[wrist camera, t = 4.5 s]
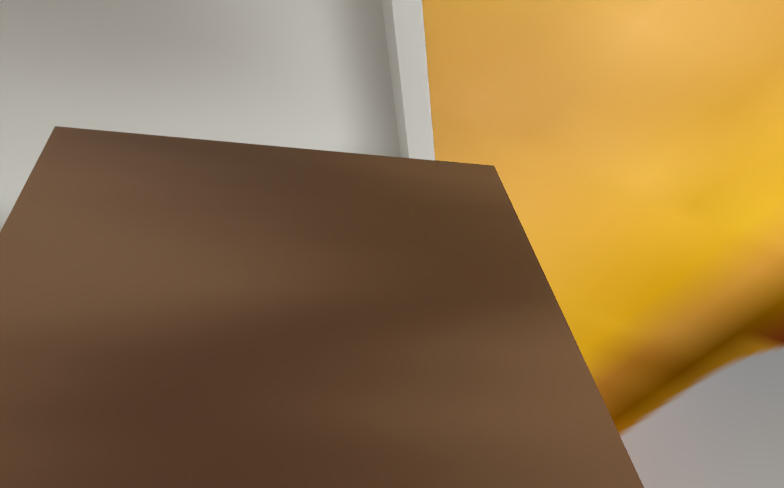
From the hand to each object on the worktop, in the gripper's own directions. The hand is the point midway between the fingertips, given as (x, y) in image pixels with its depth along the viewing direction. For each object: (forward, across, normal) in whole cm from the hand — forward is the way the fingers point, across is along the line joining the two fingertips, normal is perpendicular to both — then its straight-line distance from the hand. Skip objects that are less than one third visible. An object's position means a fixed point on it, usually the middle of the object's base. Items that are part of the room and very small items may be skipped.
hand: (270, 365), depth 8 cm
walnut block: (+1, 0, 0) cm, 1 cm away
